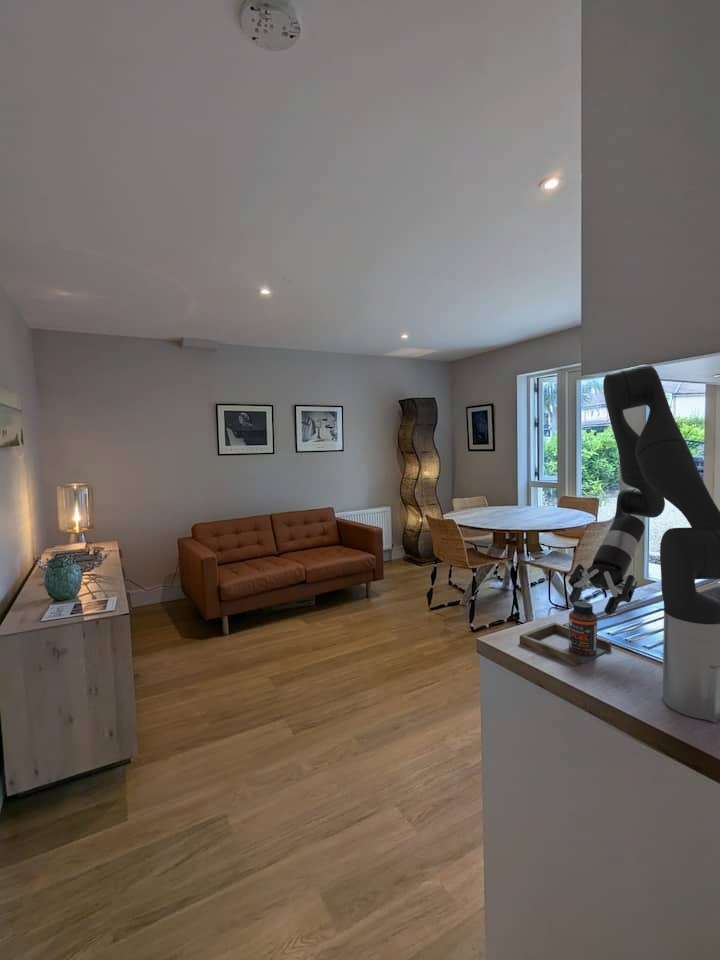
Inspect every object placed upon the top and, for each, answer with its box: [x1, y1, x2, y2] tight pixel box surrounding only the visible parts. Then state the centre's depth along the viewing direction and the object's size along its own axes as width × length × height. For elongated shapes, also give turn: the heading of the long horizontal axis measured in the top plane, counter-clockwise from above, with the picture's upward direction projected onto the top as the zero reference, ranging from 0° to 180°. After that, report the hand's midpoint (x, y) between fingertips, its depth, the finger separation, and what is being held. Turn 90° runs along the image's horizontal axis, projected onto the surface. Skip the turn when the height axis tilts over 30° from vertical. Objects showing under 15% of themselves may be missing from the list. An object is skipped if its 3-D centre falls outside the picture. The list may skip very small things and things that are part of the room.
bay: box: [519, 622, 612, 668], centre depth 110 cm, size 15×14×2 cm
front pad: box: [563, 647, 608, 665], centre depth 107 cm, size 6×10×1 cm, turn 122°
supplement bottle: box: [568, 600, 598, 656], centre depth 106 cm, size 6×6×11 cm
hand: (589, 608), depth 107 cm, fingers open, 8 cm apart
